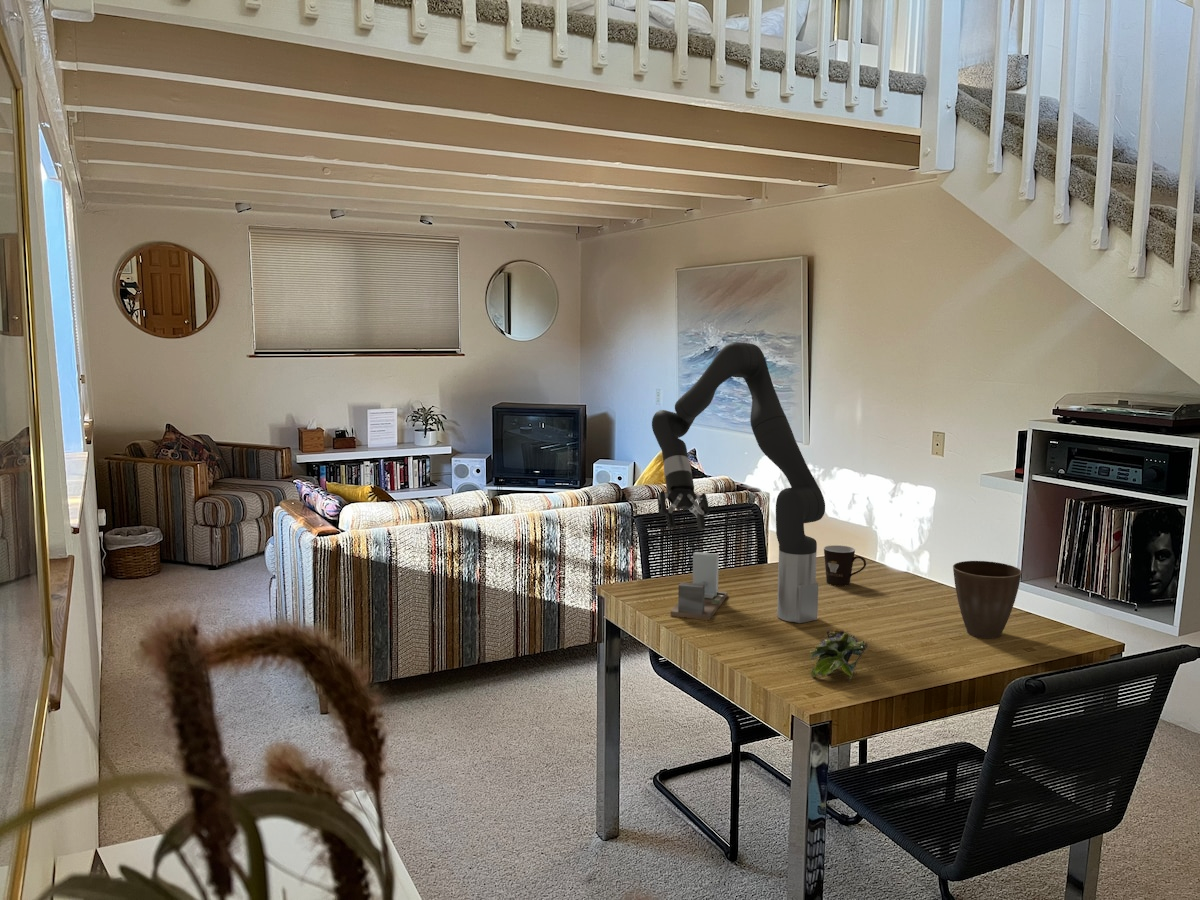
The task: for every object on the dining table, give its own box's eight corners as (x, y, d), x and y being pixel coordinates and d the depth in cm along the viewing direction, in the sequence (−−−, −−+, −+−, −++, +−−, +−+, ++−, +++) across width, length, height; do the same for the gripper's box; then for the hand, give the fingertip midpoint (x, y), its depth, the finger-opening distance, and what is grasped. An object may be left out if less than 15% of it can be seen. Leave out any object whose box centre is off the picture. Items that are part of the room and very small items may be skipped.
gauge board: (691, 592, 251) (691, 563, 250) (727, 596, 248) (727, 566, 247) (670, 616, 231) (670, 584, 230) (709, 620, 227) (709, 588, 226)
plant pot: (977, 646, 209) (980, 578, 206) (936, 626, 223) (939, 562, 221) (1031, 641, 212) (1036, 574, 210) (988, 621, 227) (992, 558, 225)
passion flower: (832, 693, 196) (856, 643, 198) (862, 703, 186) (887, 650, 188) (792, 667, 193) (817, 617, 196) (820, 676, 183) (846, 623, 186)
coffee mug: (816, 580, 263) (817, 547, 262) (840, 577, 267) (841, 544, 265) (843, 591, 253) (844, 556, 251) (867, 587, 256) (868, 552, 255)
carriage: (694, 591, 247) (695, 551, 246) (725, 594, 244) (726, 554, 243) (687, 599, 240) (688, 558, 238) (719, 602, 237) (720, 561, 235)
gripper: (659, 467, 249) (668, 522, 241) (707, 470, 253) (716, 524, 246) (649, 480, 255) (657, 533, 247) (695, 482, 259) (705, 535, 252)
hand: (687, 528), depth 247 cm, fingers open, 8 cm apart
